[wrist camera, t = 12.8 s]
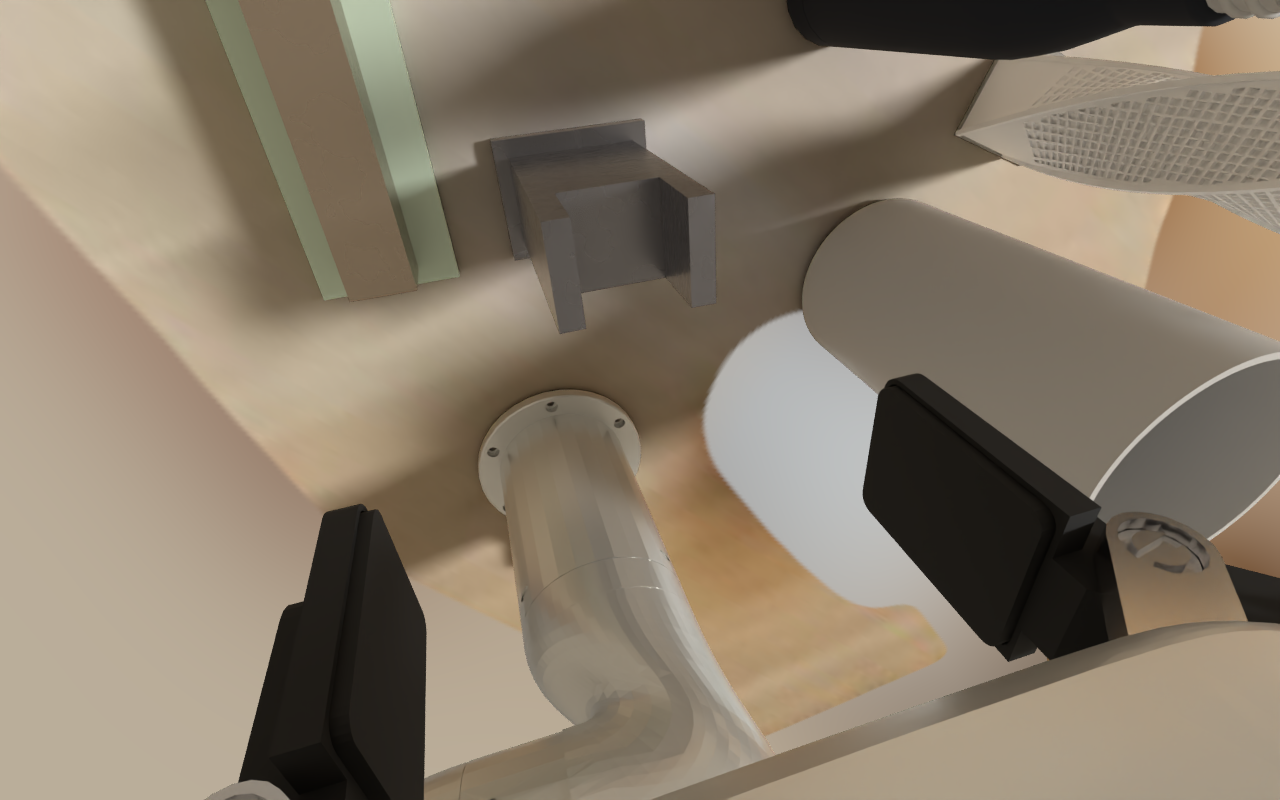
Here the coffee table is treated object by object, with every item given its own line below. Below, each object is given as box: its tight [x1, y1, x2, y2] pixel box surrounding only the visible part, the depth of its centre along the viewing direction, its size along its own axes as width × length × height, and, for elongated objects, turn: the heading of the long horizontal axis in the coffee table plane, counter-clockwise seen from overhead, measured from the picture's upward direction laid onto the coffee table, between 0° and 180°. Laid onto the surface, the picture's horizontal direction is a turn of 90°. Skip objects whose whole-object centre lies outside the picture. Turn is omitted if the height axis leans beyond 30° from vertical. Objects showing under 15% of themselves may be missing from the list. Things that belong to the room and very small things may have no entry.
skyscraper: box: [955, 52, 1280, 234], centre depth 32 cm, size 8×8×28 cm
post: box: [490, 119, 716, 334], centre depth 32 cm, size 7×9×14 cm
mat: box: [205, 0, 460, 301], centre depth 30 cm, size 26×8×1 cm, turn 4°
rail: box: [238, 0, 419, 302], centre depth 29 cm, size 24×4×4 cm, turn 4°
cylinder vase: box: [802, 198, 1280, 540], centre depth 37 cm, size 12×12×25 cm
